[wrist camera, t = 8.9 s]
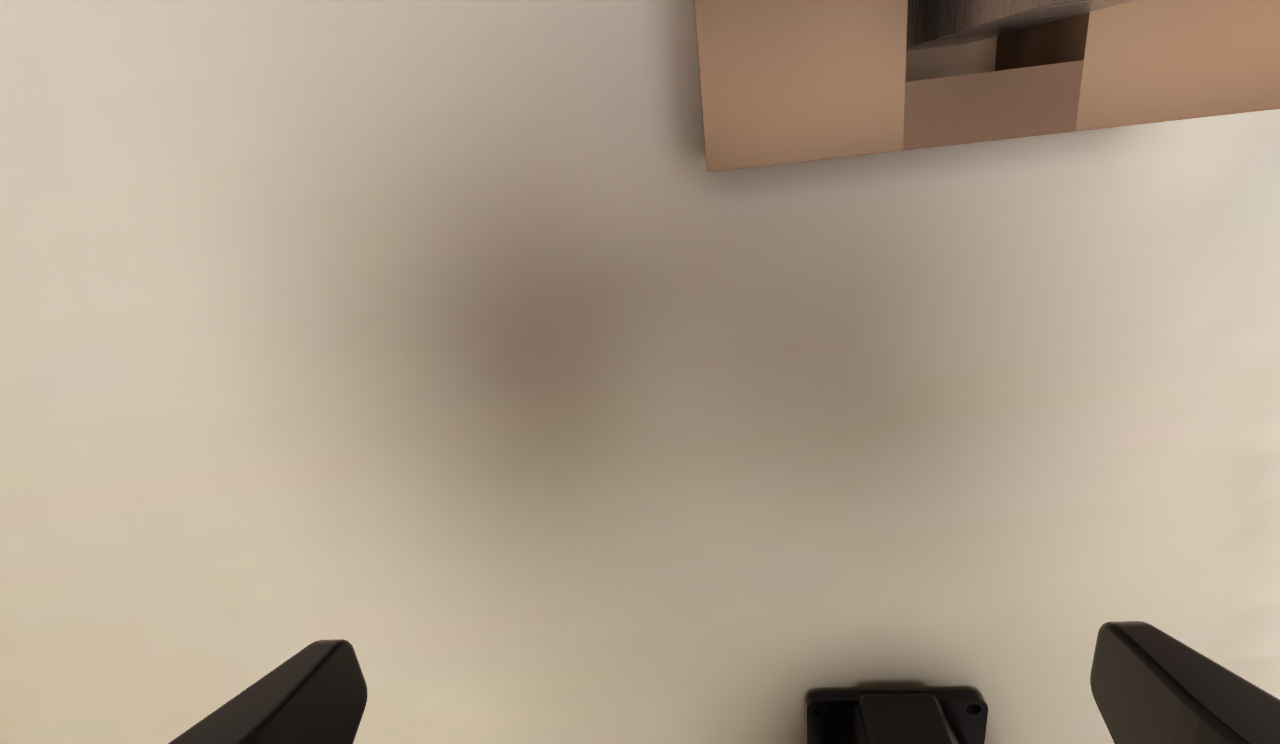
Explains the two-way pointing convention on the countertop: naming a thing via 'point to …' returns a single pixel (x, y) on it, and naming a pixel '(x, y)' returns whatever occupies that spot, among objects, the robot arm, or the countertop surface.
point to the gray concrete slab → (985, 18)
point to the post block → (966, 75)
